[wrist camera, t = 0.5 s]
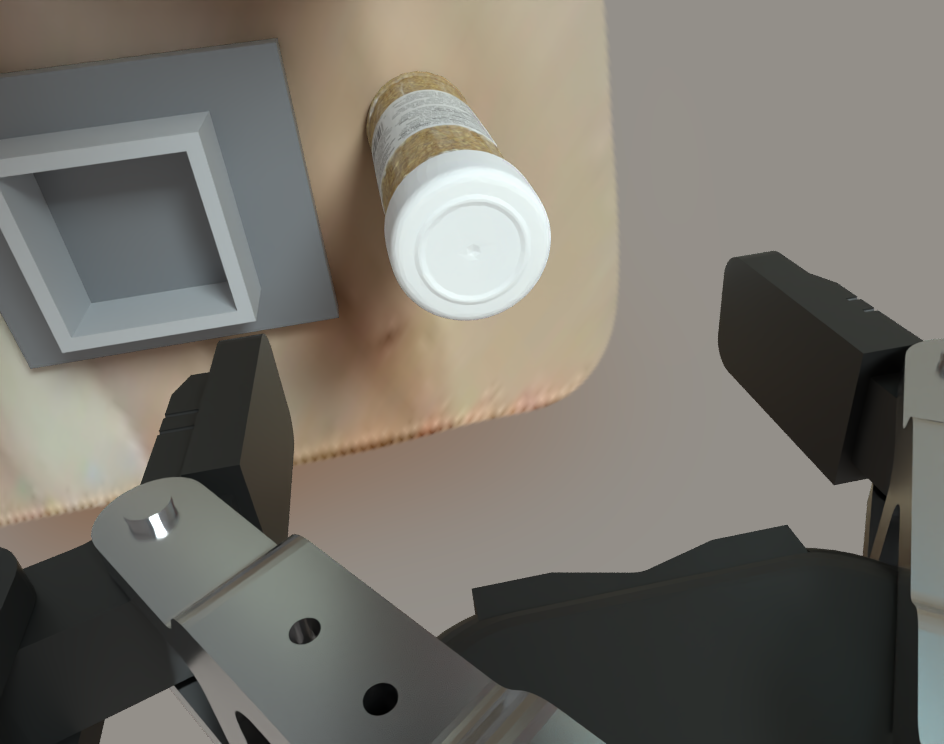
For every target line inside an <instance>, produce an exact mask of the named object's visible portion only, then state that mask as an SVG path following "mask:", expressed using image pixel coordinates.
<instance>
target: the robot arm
mask: <svg viewBox="0 0 944 744" xmlns="http://www.w3.org/2000/svg"><path fill="white" fill-rule="evenodd" d="M718 347H719V352H720V356H721V359H722V362H723V364H724V366H725V368H726V369H727V370H728V372H729V373H730V374H731V375H732V376H733V377H734V378H735V379H736V380H737V382H738V383H739V384H740V385H741V386H742V387H743V388H744V389H745V390H746V391H747V392H748V393H749V394H750V395H751V397H752V398H753V399H754V400H755V401H756V402H757V403H758V404H759V405H760V406H761V407H762V408H763V409H764V411H765V412H766V413H767V414H768V415H769V416H770V417H771V418H772V419H773V420H774V421H775V422H776V423H777V424H778V426H779V427H780V428H781V429H782V430H783V431H784V432H785V433H786V434H787V435H788V436H789V437H790V438H791V440H792V441H793V442H794V443H795V444H796V445H797V446H798V447H799V448H800V449H801V450H802V451H803V452H804V453H805V455H806V456H807V457H808V458H809V459H810V460H811V461H812V462H813V463H814V464H815V465H816V466H817V467H818V468H819V470H820V471H821V472H822V473H823V474H824V475H825V476H826V477H827V478H828V479H829V480H830V481H831V482H832V484H833V485H837V484H842V483H848V482H852V481H858V480H863V479H869V480H870V481H871V482H872V485H871V489H870V493H869V497H868V501H867V511H866V522H865V533H864V545H863V556H860V555H856V554H852V553H847V552H841V551H836V550H827V549H817V548H805V547H804V546H803V544H802V543H801V542H800V541H799V539H798V538H797V537H796V536H795V534H794V533H793V532H792V530H791V529H790V528H789V527H788V525H784V526H779V527H774V528H769V529H764V530H759V531H754V532H749V533H745V534H739V535H735V536H730V537H725V538H720V539H715V540H711V541H709V542H707V543H705V544H703V545H700V546H698V547H696V548H694V549H692V550H690V551H687V552H685V553H683V554H681V555H679V556H676V557H674V558H672V559H670V560H668V561H666V562H663V563H661V564H659V565H657V566H655V567H653V568H651V569H648V570H646V571H642V572H636V573H547V574H542V575H538V576H532V577H527V578H522V579H517V580H513V581H508V582H503V583H498V584H494V585H488V586H483V587H478V588H473V589H472V594H473V600H474V608H475V615H473V616H471V617H469V618H467V619H465V620H463V621H461V622H459V623H458V624H456V625H454V626H452V627H451V628H449V629H447V630H446V631H444V632H443V633H442V634H440V635H439V636H438V637H435V636H434V635H432V634H431V633H430V632H428V631H427V630H426V629H424V628H423V627H422V626H420V625H419V624H418V623H416V622H415V621H414V620H413V619H411V618H410V617H409V616H407V615H406V614H405V613H403V612H402V611H401V610H399V609H398V608H397V607H395V606H394V605H393V604H392V603H390V602H389V601H387V600H386V599H385V598H384V597H382V596H381V595H380V594H378V593H377V592H376V591H374V590H373V589H372V588H371V587H369V586H368V585H366V584H365V583H364V582H363V581H361V580H360V579H358V578H357V577H356V576H355V575H353V574H352V573H351V572H349V571H348V570H347V569H346V568H344V567H343V566H342V565H340V564H339V563H338V562H336V561H335V560H334V559H332V558H331V557H330V556H328V555H327V554H326V553H325V552H323V551H322V550H320V549H319V548H318V547H316V546H315V545H314V544H313V543H311V542H310V541H309V540H307V539H306V538H304V537H302V536H300V535H296V534H294V535H291V536H290V537H288V525H289V511H290V497H291V483H292V469H293V455H294V436H293V428H292V422H291V417H290V413H289V409H288V405H287V402H286V398H285V395H284V391H283V388H282V384H281V381H280V377H279V374H278V370H277V367H276V363H275V359H274V356H273V352H272V349H271V346H270V343H269V340H268V338H267V336H266V335H265V334H259V335H253V336H246V337H240V338H234V339H228V340H222V341H219V342H218V344H217V347H216V350H215V354H214V358H213V361H212V365H211V368H210V372H208V373H202V374H196V375H191V376H190V377H189V378H188V379H187V380H186V381H185V382H184V383H183V384H182V385H181V386H180V387H179V388H178V389H177V390H176V391H175V392H174V393H173V394H172V396H171V399H170V401H169V404H168V407H167V410H166V413H165V417H166V418H164V419H163V421H162V424H161V427H160V430H159V432H160V435H158V436H157V439H156V441H155V444H154V447H153V450H152V453H151V456H150V459H149V461H148V464H147V467H146V470H145V473H144V476H143V479H142V481H141V484H140V485H139V486H137V487H135V488H133V489H131V490H129V491H127V492H125V493H124V494H122V495H120V496H119V497H117V498H116V499H115V500H113V501H112V502H111V503H110V504H109V505H108V506H107V507H106V508H105V509H104V510H103V511H102V512H101V513H100V514H99V516H98V517H97V519H96V521H95V522H94V525H93V528H92V533H91V537H92V540H91V541H89V542H87V543H86V544H84V545H81V546H79V547H77V548H74V549H72V550H70V551H67V552H65V553H62V554H60V555H57V556H55V557H52V558H50V559H47V560H45V561H42V562H39V563H37V564H35V565H32V566H29V567H27V568H24V569H22V568H21V566H20V564H19V562H18V561H17V559H16V558H15V556H14V555H13V554H12V553H11V552H10V551H8V550H7V549H4V548H1V547H0V744H99V742H100V738H101V734H102V729H103V725H104V720H105V719H106V718H108V717H110V716H112V715H114V714H116V713H118V712H121V711H122V710H125V709H127V708H128V707H131V706H133V705H135V704H137V703H139V702H141V701H143V700H145V699H147V698H149V697H151V696H153V695H155V694H157V693H159V692H161V691H163V690H166V689H168V688H170V690H171V691H172V692H173V694H174V695H175V696H176V697H177V699H178V700H179V701H180V702H181V703H182V705H183V706H184V707H185V708H186V710H187V711H188V712H189V713H190V714H191V716H192V717H193V718H194V720H195V721H196V722H197V723H198V724H199V726H200V727H201V728H202V729H203V731H204V732H205V733H206V734H207V736H208V737H209V738H210V739H211V740H212V742H213V743H214V744H944V339H933V340H927V341H923V340H921V339H920V338H918V337H917V336H915V335H914V334H912V333H911V332H909V331H907V330H906V329H905V328H903V327H902V326H900V325H899V324H897V323H896V322H895V321H893V320H892V319H890V318H889V317H887V316H886V315H884V314H882V313H881V312H880V311H874V307H872V306H871V305H869V304H868V303H866V302H864V301H863V300H861V299H860V300H857V296H856V295H854V294H852V293H851V292H850V291H848V290H847V289H845V288H843V287H842V286H841V285H839V284H838V283H836V282H833V281H830V280H827V279H824V278H822V277H819V276H816V275H813V274H810V273H808V272H807V271H805V270H804V269H802V268H801V267H799V266H798V265H796V264H795V263H794V262H792V261H791V260H789V259H788V258H786V257H785V256H783V255H782V254H780V253H779V252H776V251H770V252H764V253H758V254H752V255H746V256H740V257H734V258H731V259H730V260H729V262H728V263H727V265H726V268H725V272H724V281H723V291H722V301H721V312H720V322H719V332H718Z"/></svg>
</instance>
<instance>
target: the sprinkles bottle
mask: <svg viewBox="0 0 944 744" xmlns="http://www.w3.org/2000/svg"><path fill="white" fill-rule="evenodd" d="M366 129H367V137H368V140H369V145H370V148H371V150H372V157H373V162H374V168H375V173H376V178H377V184H378V188H379V193H380V198H381V202H382V207H383V210H384V214H385V216H386V217H385V226H384V232H385V241H386V247H387V252H388V256H389V260H390V263H391V266H392V270H393V273H394V275H395V277H396V280H397V281H398V283H399V285H400V287H401V288H402V289H403V291H404V292H405V293H406V295H407V296H408V297H409V298H410V299H411V300H412V301H413V302H415V303H416V304H417V305H418V306H420V307H421V308H423V309H424V310H426V311H428V312H430V313H432V314H434V315H437V316H440V317H443V318H447V319H453V320H478V319H483V318H488V317H491V316H494V315H496V314H499V313H501V312H503V311H505V310H507V309H509V308H510V307H512V306H513V305H515V304H516V303H518V302H519V301H520V300H521V299H523V298H524V297H525V296H526V295H527V294H528V293H529V292H530V290H531V289H532V288H533V287H534V285H535V284H536V283H537V281H538V280H539V278H540V276H541V275H542V272H543V270H544V268H545V266H546V263H547V260H548V256H549V251H550V243H551V232H550V224H549V220H548V217H547V213H546V211H545V208H544V206H543V204H542V202H541V201H540V199H539V197H538V196H537V194H536V193H535V191H534V190H533V188H532V187H531V185H530V184H529V182H528V181H527V180H526V178H525V177H524V176H523V175H522V174H521V172H520V171H519V170H518V169H516V168H515V167H514V166H513V165H512V164H510V163H509V162H507V161H506V160H504V158H503V156H502V154H501V153H500V152H499V150H498V147H497V145H496V144H495V142H494V141H493V139H492V138H491V136H490V135H489V133H488V132H487V130H486V129H485V127H484V126H483V125H482V123H481V122H480V121H479V119H478V118H477V117H476V115H475V114H474V112H473V111H472V110H471V109H470V108H469V107H468V105H467V103H466V100H465V98H464V97H463V96H462V94H461V93H460V91H459V90H458V89H457V88H456V87H455V86H453V85H452V84H451V83H450V82H449V81H447V80H446V79H445V78H443V77H442V76H438V75H434V74H432V73H428V72H417V71H415V72H410V73H405V74H400V75H399V76H397V77H396V78H394V79H392V80H390V81H389V82H388V83H386V84H385V85H384V86H383V87H382V88H381V89H380V90H379V92H378V93H377V94H376V96H375V97H374V99H373V101H372V103H371V105H370V109H369V113H368V116H367V126H366Z"/></svg>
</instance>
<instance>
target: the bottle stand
mask: <svg viewBox="0 0 944 744" xmlns="http://www.w3.org/2000/svg"><path fill="white" fill-rule="evenodd" d="M0 312H1V314H2V316H3V318H4V320H5V322H6V324H7V326H8V327H9V329H10V331H11V333H12V335H13V337H14V339H15V340H16V342H17V344H18V346H19V348H20V350H21V352H22V353H23V355H24V357H25V359H26V361H27V363H28V365H29V367H30V368H31V369H32V368H38V367H44V366H50V365H56V364H62V363H68V362H74V361H80V360H86V359H92V358H98V357H104V356H110V355H116V354H122V353H128V352H134V351H140V350H146V349H152V348H158V347H164V346H170V345H176V344H183V343H189V342H195V341H201V340H207V339H213V338H219V337H225V336H231V335H237V334H243V333H249V332H255V331H261V330H267V329H273V328H279V327H285V326H291V325H297V324H303V323H309V322H315V321H321V320H327V319H333V318H339V310H338V304H337V299H336V295H335V290H334V286H333V282H332V277H331V273H330V268H329V264H328V259H327V255H326V251H325V246H324V242H323V237H322V233H321V229H320V224H319V220H318V215H317V211H316V206H315V202H314V198H313V193H312V189H311V184H310V180H309V176H308V171H307V167H306V162H305V158H304V154H303V149H302V145H301V140H300V136H299V131H298V127H297V123H296V118H295V114H294V109H293V105H292V101H291V96H290V92H289V87H288V83H287V78H286V74H285V70H284V65H283V61H282V56H281V52H280V48H279V43H278V39H277V38H274V39H266V40H258V41H250V42H243V43H235V44H227V45H219V46H212V47H204V48H196V49H188V50H181V51H173V52H165V53H157V54H150V55H142V56H134V57H126V58H119V59H111V60H103V61H95V62H88V63H80V64H72V65H64V66H57V67H49V68H41V69H33V70H26V71H18V72H10V73H2V74H0Z"/></svg>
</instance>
